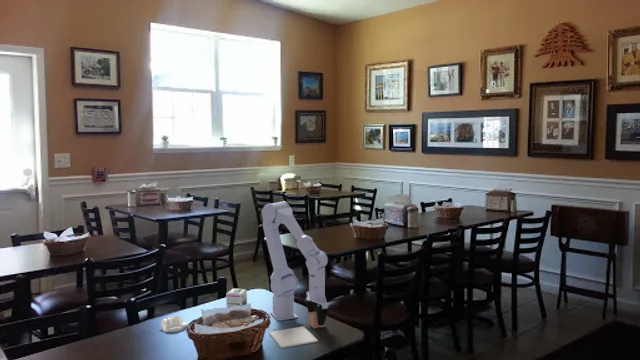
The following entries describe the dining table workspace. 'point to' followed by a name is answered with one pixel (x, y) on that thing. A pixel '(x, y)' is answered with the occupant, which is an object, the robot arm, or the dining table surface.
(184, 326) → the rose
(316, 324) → the terracotta block
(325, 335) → the dining table surface
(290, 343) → the serving plate
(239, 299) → the syrup box
